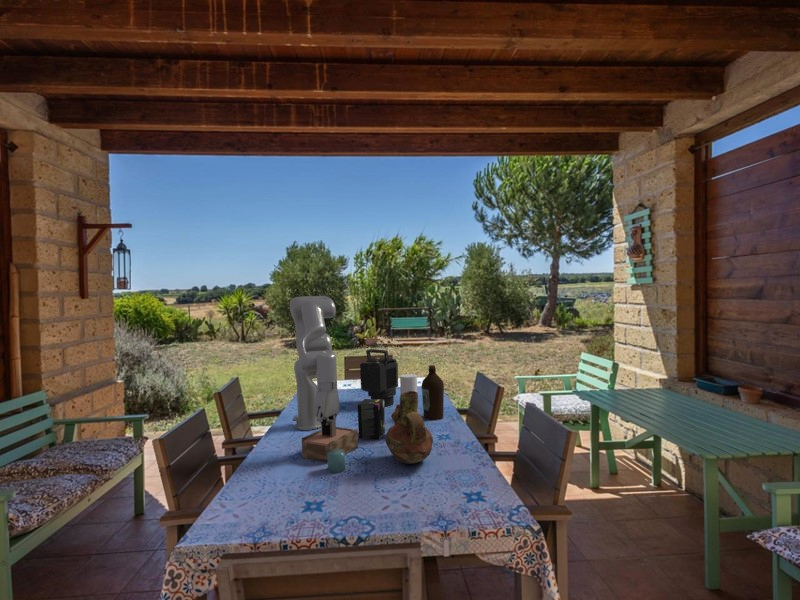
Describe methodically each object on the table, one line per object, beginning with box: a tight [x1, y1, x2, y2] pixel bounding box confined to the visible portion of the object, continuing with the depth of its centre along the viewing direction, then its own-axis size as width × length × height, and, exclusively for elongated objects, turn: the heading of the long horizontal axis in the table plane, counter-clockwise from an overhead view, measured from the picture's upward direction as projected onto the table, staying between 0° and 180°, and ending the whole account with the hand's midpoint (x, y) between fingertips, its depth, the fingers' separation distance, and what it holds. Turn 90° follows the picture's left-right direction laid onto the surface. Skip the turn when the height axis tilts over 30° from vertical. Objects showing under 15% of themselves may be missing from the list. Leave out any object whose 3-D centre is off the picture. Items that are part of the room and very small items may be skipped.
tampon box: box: [357, 398, 386, 441], centre depth 197 cm, size 11×9×15 cm
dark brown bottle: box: [421, 364, 445, 421], centre depth 222 cm, size 11×11×25 cm
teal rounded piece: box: [327, 449, 346, 474], centre depth 161 cm, size 6×6×6 cm
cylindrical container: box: [399, 373, 419, 412], centre depth 197 cm, size 7×7×25 cm
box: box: [301, 426, 359, 464], centre depth 178 cm, size 18×13×7 cm
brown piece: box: [304, 419, 351, 446], centre depth 177 cm, size 16×11×7 cm
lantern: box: [359, 348, 399, 408], centre depth 249 cm, size 15×18×30 cm
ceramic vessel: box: [385, 391, 434, 464], centre depth 167 cm, size 17×26×25 cm, turn 23°
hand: (328, 433), depth 177 cm, fingers closed on brown piece, 2 cm apart
